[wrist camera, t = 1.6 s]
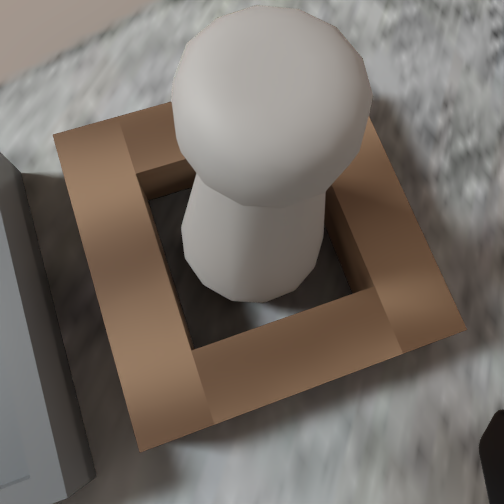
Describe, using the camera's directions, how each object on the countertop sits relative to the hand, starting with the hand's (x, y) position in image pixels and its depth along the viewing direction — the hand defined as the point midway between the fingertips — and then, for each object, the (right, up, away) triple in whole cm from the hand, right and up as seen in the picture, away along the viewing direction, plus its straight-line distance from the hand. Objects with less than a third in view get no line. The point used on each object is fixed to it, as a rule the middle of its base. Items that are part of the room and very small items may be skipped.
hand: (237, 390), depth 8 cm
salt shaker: (0, +3, +14) cm, 14 cm away
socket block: (0, +3, +13) cm, 14 cm away
